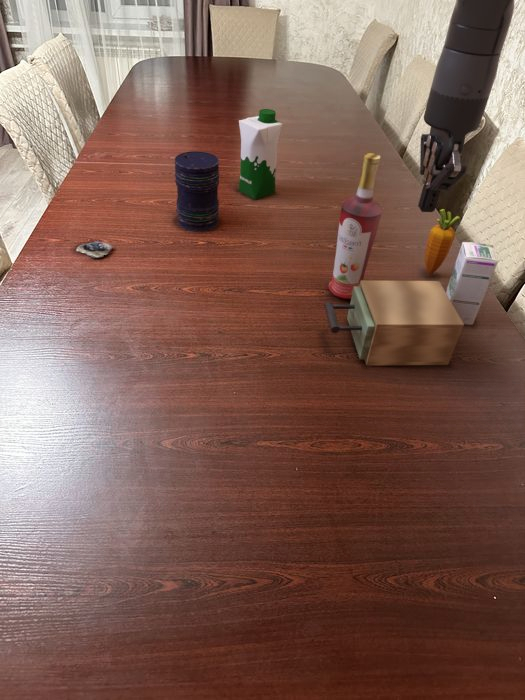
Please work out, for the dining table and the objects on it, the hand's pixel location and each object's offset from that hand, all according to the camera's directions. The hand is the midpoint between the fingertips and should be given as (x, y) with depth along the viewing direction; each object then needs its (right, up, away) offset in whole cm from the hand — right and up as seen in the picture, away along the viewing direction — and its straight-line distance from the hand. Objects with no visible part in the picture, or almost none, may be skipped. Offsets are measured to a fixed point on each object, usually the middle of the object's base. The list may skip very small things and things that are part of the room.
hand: (425, 209), depth 80 cm
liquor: (-8, -10, +26) cm, 29 cm away
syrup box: (+13, -15, +23) cm, 30 cm away
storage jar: (-40, +9, +45) cm, 61 cm away
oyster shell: (-61, 0, +32) cm, 69 cm away
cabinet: (0, -20, +15) cm, 25 cm away
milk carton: (-27, +20, +59) cm, 68 cm away
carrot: (+11, -5, +33) cm, 35 cm away
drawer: (-5, -19, +14) cm, 24 cm away
